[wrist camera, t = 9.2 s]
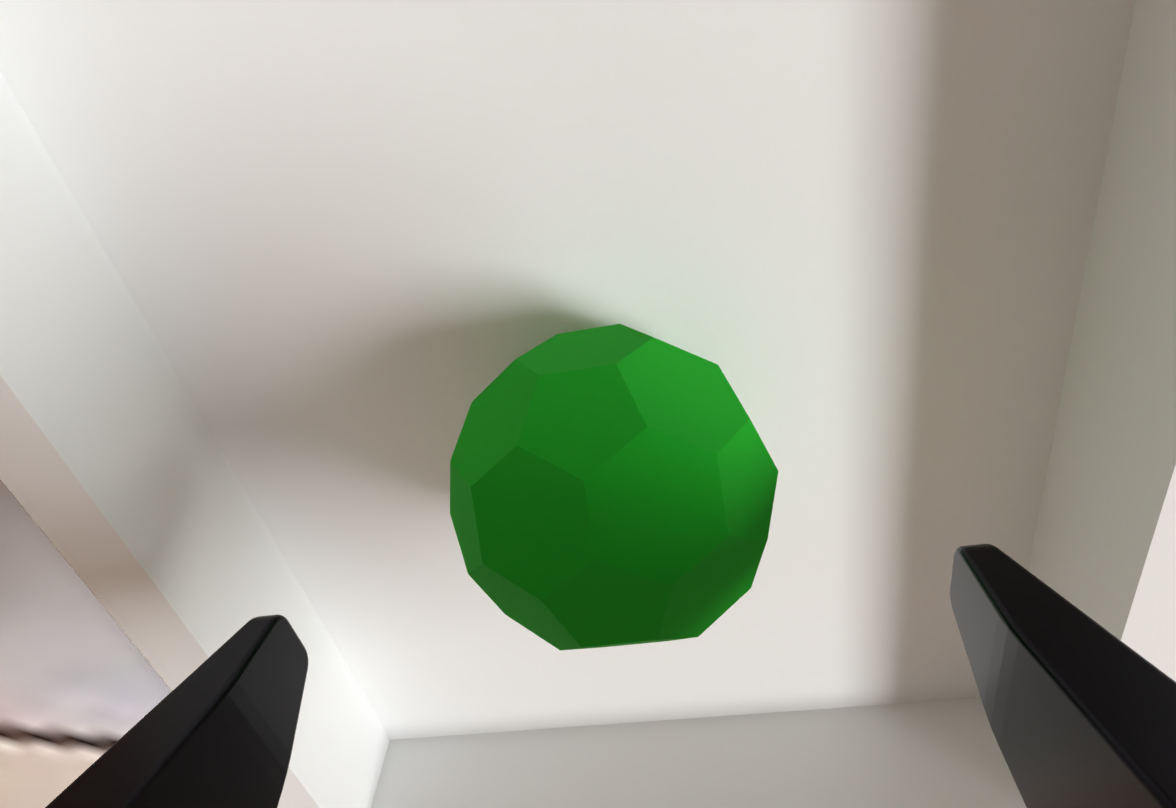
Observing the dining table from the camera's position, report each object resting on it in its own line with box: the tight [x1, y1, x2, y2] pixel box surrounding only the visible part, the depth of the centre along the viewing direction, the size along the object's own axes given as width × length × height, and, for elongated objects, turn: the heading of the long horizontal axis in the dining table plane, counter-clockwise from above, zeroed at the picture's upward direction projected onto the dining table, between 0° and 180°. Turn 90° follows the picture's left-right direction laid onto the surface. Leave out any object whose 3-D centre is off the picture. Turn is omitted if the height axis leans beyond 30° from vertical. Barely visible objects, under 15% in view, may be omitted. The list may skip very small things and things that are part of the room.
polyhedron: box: [450, 324, 778, 650], centre depth 12 cm, size 5×5×5 cm
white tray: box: [0, 0, 1176, 808], centre depth 13 cm, size 18×22×4 cm
